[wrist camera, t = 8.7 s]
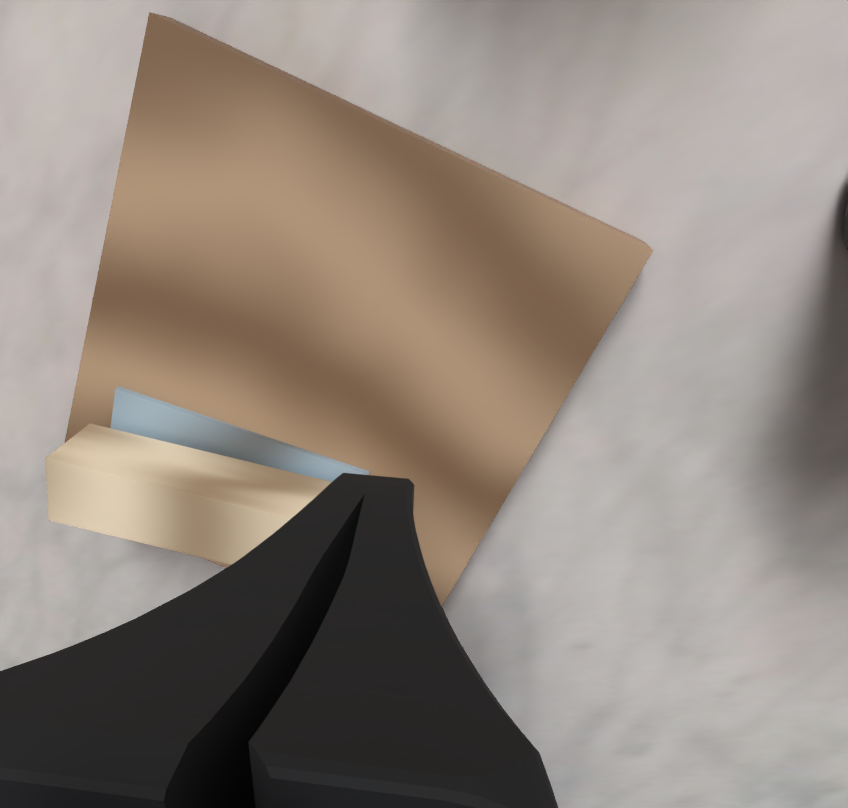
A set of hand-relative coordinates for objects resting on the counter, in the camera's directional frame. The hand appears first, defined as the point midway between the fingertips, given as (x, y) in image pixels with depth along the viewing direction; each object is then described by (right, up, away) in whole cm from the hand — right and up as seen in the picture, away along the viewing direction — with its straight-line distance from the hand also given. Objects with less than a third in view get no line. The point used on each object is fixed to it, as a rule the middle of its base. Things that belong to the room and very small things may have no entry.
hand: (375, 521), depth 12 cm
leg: (-5, -1, +11) cm, 12 cm away
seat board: (-3, +3, +10) cm, 11 cm away
